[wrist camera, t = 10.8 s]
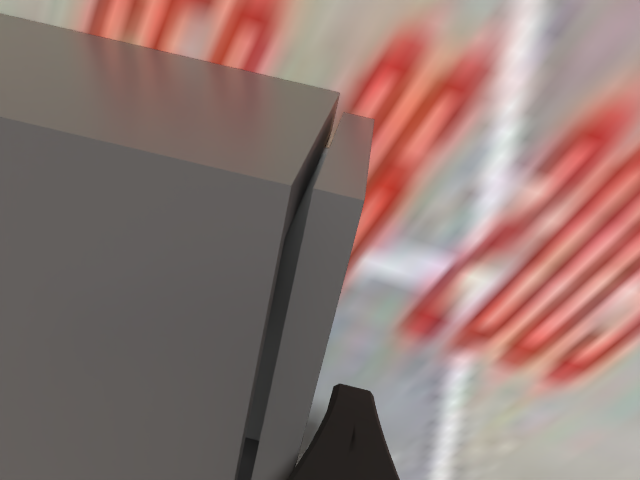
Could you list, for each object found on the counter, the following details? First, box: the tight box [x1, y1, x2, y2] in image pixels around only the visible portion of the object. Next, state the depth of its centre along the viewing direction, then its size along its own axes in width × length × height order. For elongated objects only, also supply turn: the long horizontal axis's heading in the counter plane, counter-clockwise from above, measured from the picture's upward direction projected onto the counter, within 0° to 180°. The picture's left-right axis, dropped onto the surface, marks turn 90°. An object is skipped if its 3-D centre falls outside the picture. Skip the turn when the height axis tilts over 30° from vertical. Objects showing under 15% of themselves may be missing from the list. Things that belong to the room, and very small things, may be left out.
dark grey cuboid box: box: [0, 14, 340, 480], centre depth 13 cm, size 10×13×8 cm
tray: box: [246, 112, 374, 480], centre depth 14 cm, size 10×12×6 cm
